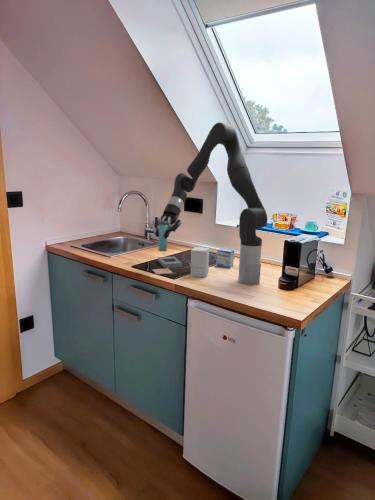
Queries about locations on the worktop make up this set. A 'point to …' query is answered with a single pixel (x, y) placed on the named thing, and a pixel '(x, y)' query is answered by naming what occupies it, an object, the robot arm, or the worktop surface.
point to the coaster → (162, 271)
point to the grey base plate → (169, 262)
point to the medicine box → (225, 258)
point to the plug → (162, 236)
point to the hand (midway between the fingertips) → (160, 236)
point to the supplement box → (199, 262)
